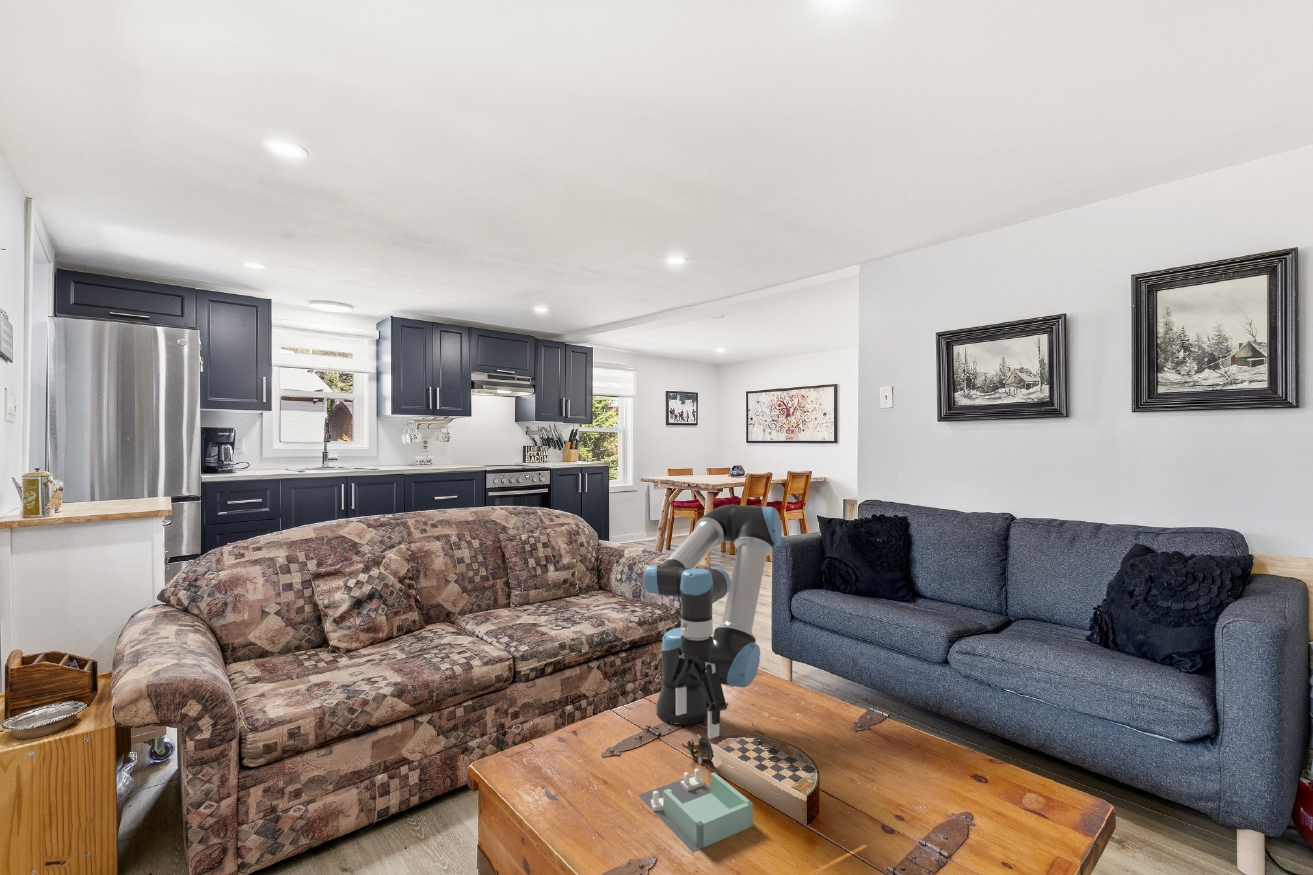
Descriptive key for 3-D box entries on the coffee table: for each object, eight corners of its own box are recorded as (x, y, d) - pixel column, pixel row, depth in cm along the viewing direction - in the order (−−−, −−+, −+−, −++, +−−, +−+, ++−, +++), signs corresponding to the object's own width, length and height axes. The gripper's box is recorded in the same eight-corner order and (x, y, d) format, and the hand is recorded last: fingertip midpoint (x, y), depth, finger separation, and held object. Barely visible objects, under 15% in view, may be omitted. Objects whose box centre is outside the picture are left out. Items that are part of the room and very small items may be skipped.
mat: (695, 776, 140) (695, 774, 140) (755, 826, 122) (755, 824, 122) (638, 796, 132) (638, 794, 132) (692, 854, 114) (692, 851, 114)
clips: (696, 778, 138) (696, 765, 138) (713, 793, 133) (713, 779, 133) (641, 798, 131) (641, 784, 131) (657, 814, 125) (656, 800, 125)
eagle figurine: (678, 762, 144) (710, 766, 139) (683, 729, 148) (715, 732, 143) (695, 768, 149) (727, 772, 144) (700, 736, 152) (731, 739, 147)
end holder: (714, 792, 133) (714, 772, 133) (753, 825, 122) (753, 803, 122) (663, 812, 126) (663, 790, 126) (699, 849, 115) (699, 825, 115)
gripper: (656, 624, 155) (656, 708, 155) (714, 653, 133) (714, 751, 133) (681, 619, 159) (681, 701, 158) (741, 647, 137) (742, 742, 137)
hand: (696, 724), depth 146 cm, fingers open, 13 cm apart
